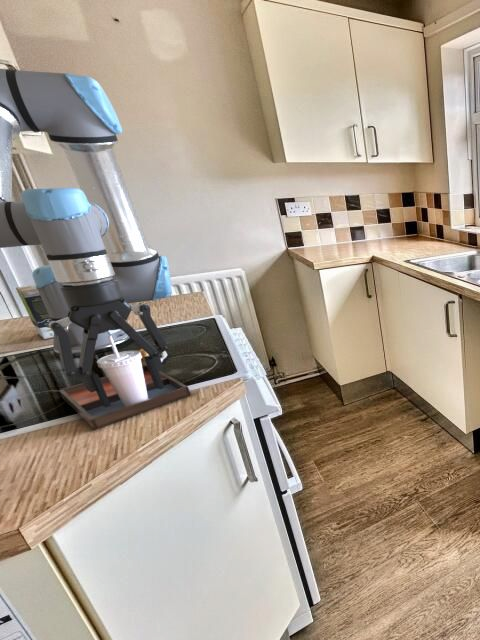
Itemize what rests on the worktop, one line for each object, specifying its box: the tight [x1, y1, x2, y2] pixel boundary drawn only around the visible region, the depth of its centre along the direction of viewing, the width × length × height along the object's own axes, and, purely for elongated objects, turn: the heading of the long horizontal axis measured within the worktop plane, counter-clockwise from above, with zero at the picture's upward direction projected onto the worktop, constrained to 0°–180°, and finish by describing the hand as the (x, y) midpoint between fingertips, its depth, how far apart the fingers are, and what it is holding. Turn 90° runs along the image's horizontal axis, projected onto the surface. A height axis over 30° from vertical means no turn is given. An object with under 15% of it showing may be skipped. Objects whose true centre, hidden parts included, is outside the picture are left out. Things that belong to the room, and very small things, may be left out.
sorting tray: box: [58, 365, 191, 430], centre depth 86 cm, size 22×15×2 cm
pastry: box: [136, 348, 168, 366], centre depth 102 cm, size 9×7×4 cm
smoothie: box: [96, 336, 148, 406], centre depth 80 cm, size 6×6×14 cm
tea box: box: [15, 283, 54, 340], centre depth 126 cm, size 15×10×15 cm, turn 144°
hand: (133, 395), depth 82 cm, fingers open, 8 cm apart
